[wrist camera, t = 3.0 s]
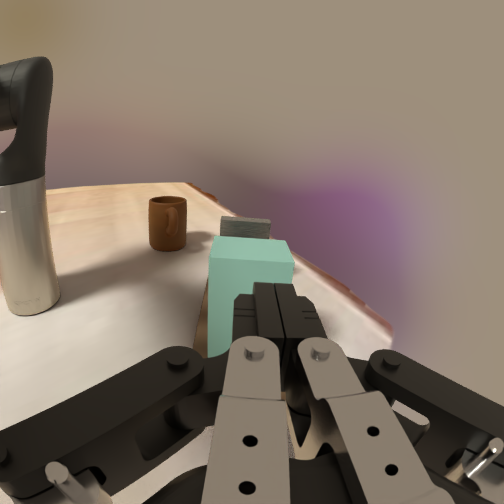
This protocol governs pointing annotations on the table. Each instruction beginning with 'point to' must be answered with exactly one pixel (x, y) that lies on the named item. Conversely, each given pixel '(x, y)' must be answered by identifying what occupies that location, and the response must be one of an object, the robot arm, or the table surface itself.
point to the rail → (245, 227)
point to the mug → (167, 223)
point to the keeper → (240, 279)
